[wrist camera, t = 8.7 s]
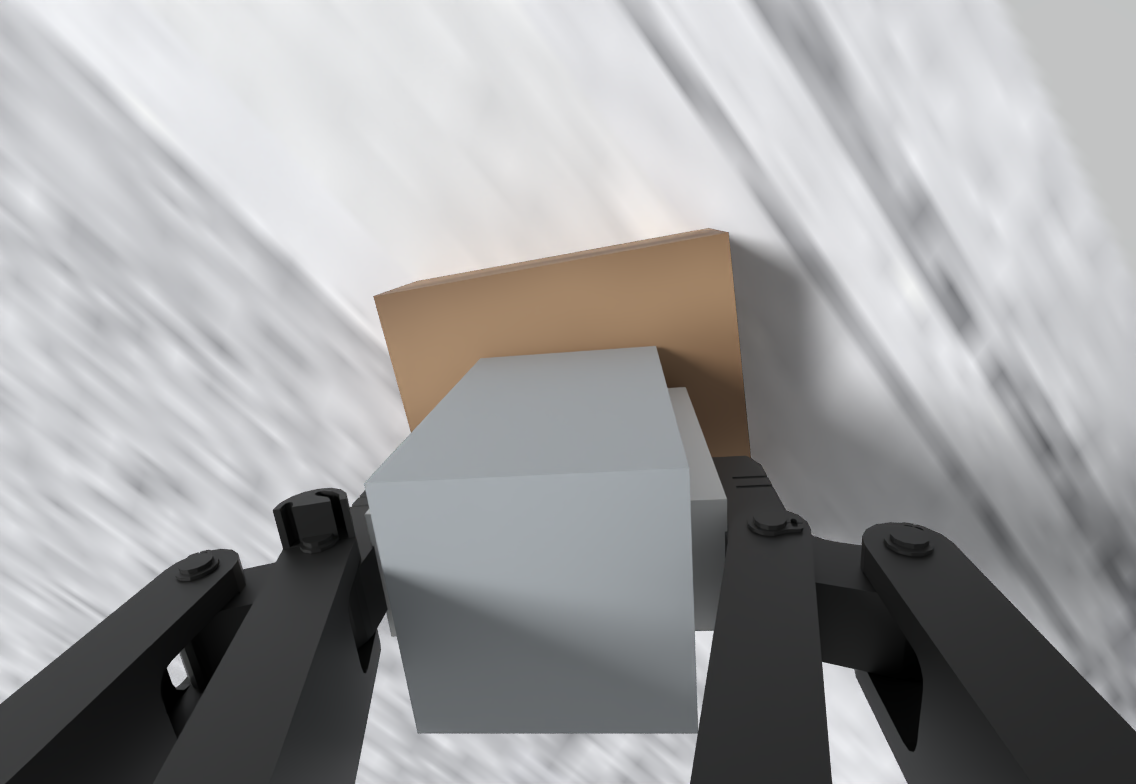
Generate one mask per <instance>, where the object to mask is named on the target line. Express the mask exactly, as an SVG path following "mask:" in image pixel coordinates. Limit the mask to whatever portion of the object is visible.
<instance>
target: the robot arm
mask: <svg viewBox="0 0 1136 784" xmlns="http://www.w3.org/2000/svg"><path fill="white" fill-rule="evenodd" d="M668 392H669V396H670V399H671V403H672V407H673V410H674V414H675V418H676V421H677V425H678V429H679V432H680V436H681V440H682V443H683V447H684V451H685V454H686V458H687V461H688V465H689V475H690V505H691V535H692V565H693V596H694V626H695V631H714V634H713V640H712V647H711V653H710V660H709V666H708V672H707V679H706V685H705V691H704V698H703V704H702V711H701V717H700V723H699V730H698V736H697V743H696V749H695V755H694V762H693V768H692V775H691V781H690V784H832V777H831V765H830V753H829V741H828V729H827V717H826V705H825V693H824V681H823V669H822V662H826V663H830V664H834V665H839V666H843V667H848V668H852V669H854V670H855V674H856V678H857V680H858V682H859V684H860V686H861V688H862V690H863V692H864V695H865V697H866V699H867V701H868V703H869V705H870V707H871V709H872V711H873V713H874V715H875V717H876V719H877V721H878V723H879V725H880V728H881V730H882V732H883V734H884V736H885V738H886V740H887V742H888V744H889V746H890V748H891V750H892V752H893V754H894V756H895V758H896V761H897V763H898V765H899V767H900V769H901V771H902V773H903V775H904V777H905V779H906V781H907V783H908V784H1136V731H1135V730H1134V729H1133V728H1132V727H1131V726H1130V725H1129V724H1128V723H1127V722H1126V721H1125V720H1124V719H1123V718H1122V717H1121V716H1120V715H1119V714H1118V713H1117V712H1116V711H1115V710H1114V709H1113V708H1112V707H1111V706H1110V705H1109V703H1108V702H1107V701H1106V700H1105V699H1104V698H1103V697H1102V696H1101V695H1100V694H1099V693H1098V692H1097V691H1096V690H1095V689H1094V688H1093V687H1092V686H1091V685H1090V684H1089V683H1088V682H1087V681H1086V680H1085V679H1084V678H1083V677H1082V676H1081V675H1080V674H1079V672H1078V671H1077V670H1076V669H1075V668H1074V667H1073V666H1072V665H1071V664H1070V663H1069V662H1068V661H1067V660H1066V659H1065V658H1064V657H1063V656H1062V655H1061V654H1060V653H1059V652H1058V651H1057V650H1056V649H1055V648H1054V647H1053V646H1052V645H1051V644H1050V643H1049V641H1048V640H1047V639H1046V638H1045V637H1044V636H1043V635H1042V634H1041V633H1040V632H1039V631H1038V630H1037V629H1036V628H1035V627H1034V626H1033V625H1032V624H1031V623H1030V622H1029V621H1028V620H1027V619H1026V618H1025V617H1024V616H1023V615H1022V614H1021V613H1020V611H1019V610H1018V609H1017V608H1016V607H1015V606H1014V605H1013V604H1012V603H1011V602H1010V601H1009V600H1008V599H1007V598H1006V597H1005V596H1004V595H1003V594H1002V593H1001V592H1000V591H999V590H998V589H997V588H996V587H995V586H994V585H993V584H992V583H991V582H990V580H989V579H988V578H987V577H986V576H985V575H984V574H983V573H982V572H981V571H980V570H979V569H978V568H977V567H976V566H975V565H974V564H973V563H972V562H971V561H970V560H969V559H968V558H967V557H966V556H965V555H964V554H963V553H962V552H961V551H960V549H959V548H958V547H957V546H956V545H955V544H954V543H953V542H951V541H950V540H949V539H947V538H946V537H944V536H943V535H942V534H940V533H937V532H935V531H932V530H930V529H928V528H926V527H923V526H920V525H913V524H911V523H892V522H890V523H883V524H876V525H874V526H872V527H870V528H868V529H866V531H865V532H864V534H863V536H862V546H861V545H854V544H847V543H839V542H834V541H829V540H824V539H821V538H818V537H815V536H812V535H811V529H810V527H809V525H808V523H807V521H805V520H804V519H803V518H801V517H800V516H799V515H797V514H794V513H792V512H789V511H786V509H785V508H784V506H783V504H782V502H781V500H780V499H779V497H778V495H777V493H776V491H775V489H774V488H773V487H772V484H771V482H770V480H769V479H768V478H767V475H766V473H765V471H764V470H763V468H762V466H761V464H759V463H757V462H756V461H754V460H753V459H751V458H749V457H748V456H728V457H711V454H710V452H709V449H708V446H707V444H706V441H705V438H704V435H703V433H702V430H701V427H700V425H699V422H698V419H697V417H696V414H695V411H694V408H693V406H692V403H691V400H690V398H689V395H688V392H687V390H686V387H677V388H668ZM273 513H274V517H275V521H276V524H277V528H278V532H279V535H280V539H281V543H282V546H283V550H282V552H281V554H280V556H279V558H278V559H277V561H276V562H275V563H271V564H266V565H262V566H257V567H252V568H247V569H242V565H241V562H240V559H239V555H238V553H236V552H235V551H233V550H228V549H217V550H206V551H201V552H200V553H199V552H198V553H195V554H192V555H190V556H188V557H187V558H186V559H184V560H181V561H179V562H177V563H175V564H174V565H172V566H171V567H169V568H168V569H166V570H165V571H164V572H162V573H161V574H160V575H159V576H157V577H156V578H155V579H154V580H153V581H151V582H150V583H149V584H148V585H146V586H145V587H144V588H143V589H141V590H140V591H139V592H138V593H137V594H135V595H134V596H133V597H132V598H130V599H129V600H128V601H127V602H125V603H124V604H123V605H122V606H121V607H119V608H118V609H117V610H116V611H114V612H113V613H112V614H111V615H109V616H108V617H107V618H106V619H105V620H103V621H102V622H101V623H100V624H98V625H97V626H96V627H95V628H93V629H92V630H91V631H90V632H89V633H87V634H86V635H85V636H84V637H82V638H81V639H80V640H79V641H77V642H76V643H75V644H74V645H73V646H71V647H70V648H69V649H68V650H66V651H65V652H64V653H63V654H61V655H60V656H59V657H58V658H57V659H55V660H54V661H53V662H52V663H50V664H49V665H48V666H47V667H45V668H44V669H43V670H42V671H41V672H39V673H38V674H37V675H36V676H34V677H33V678H32V679H31V680H29V681H28V682H27V683H26V684H25V685H23V686H22V687H21V688H20V689H18V690H17V691H16V692H15V693H13V694H12V695H11V696H10V697H9V698H7V699H6V700H5V701H4V702H2V703H1V704H0V784H355V780H356V775H357V770H358V765H359V759H360V754H361V749H362V744H363V739H364V734H365V729H366V724H367V719H368V713H369V708H370V703H371V698H372V693H373V688H374V683H375V678H376V673H377V667H378V662H379V657H380V652H381V645H380V639H379V635H378V630H377V627H378V626H379V624H380V622H381V620H382V619H383V617H384V615H385V613H387V618H388V623H389V627H390V632H391V636H397V635H396V630H395V625H394V621H393V616H392V611H391V607H390V602H389V597H388V593H387V588H386V583H385V579H384V574H383V569H382V565H381V560H380V555H379V551H378V546H377V541H376V537H375V532H374V528H373V523H372V518H371V514H370V509H369V504H368V500H367V495H366V490H365V491H364V492H363V493H362V494H361V495H360V498H358V499H357V500H356V501H355V502H354V503H353V504H352V507H349V503H348V498H347V494H346V493H345V492H344V491H342V490H341V489H335V488H324V489H316V490H311V491H307V492H303V493H300V494H298V495H295V496H292V497H290V498H288V499H287V500H285V501H283V502H281V503H280V504H279V505H277V506H276V507H275V508H274V509H273ZM179 653H180V656H181V659H182V662H183V665H184V668H185V670H186V673H187V676H188V677H187V678H186V679H185V680H184V681H183V682H182V683H181V684H180V685H179V686H178V687H176V688H175V687H174V685H173V684H172V682H171V679H170V676H169V673H168V671H167V667H168V665H169V664H170V662H171V661H172V660H173V659H174V658H175V657H176V656H177V655H178V654H179Z"/></svg>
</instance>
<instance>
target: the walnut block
mask: <svg viewBox="0 0 1136 784" xmlns="http://www.w3.org/2000/svg"><path fill="white" fill-rule="evenodd" d="M373 297H374V300H375V304H376V308H377V311H378V315H379V318H380V322H381V326H382V329H383V333H384V336H385V340H386V344H387V347H388V351H389V355H390V358H391V362H392V365H393V369H394V373H395V376H396V380H397V384H398V387H399V391H400V394H401V398H402V402H403V405H404V409H405V412H406V416H407V420H408V423H409V427H410V431H411V432H412V431H413V430H414V429H415V428H416V427H417V426H418V425H419V424H420V423H421V422H422V421H423V420H424V418H425V417H426V416H427V415H428V414H429V413H430V412H431V411H432V410H433V409H434V408H435V407H436V406H437V405H438V403H439V402H440V401H441V400H442V399H443V398H444V397H445V396H446V395H447V394H448V393H449V392H450V391H451V389H452V388H453V387H454V386H455V385H456V384H457V383H458V382H459V381H460V380H461V379H462V378H463V377H464V375H465V374H466V373H467V372H468V371H469V370H470V369H471V368H472V367H473V366H474V365H475V364H476V363H477V361H478V360H479V359H480V358H492V357H506V356H520V355H534V354H548V353H563V352H577V351H591V350H605V349H619V348H633V347H647V346H656V348H657V352H658V355H659V359H660V363H661V366H662V370H663V374H664V377H665V381H666V385H667V388H677V387H686V390H687V392H688V395H689V398H690V400H691V403H692V406H693V408H694V411H695V414H696V417H697V419H698V422H699V425H700V427H701V430H702V433H703V435H704V438H705V441H706V444H707V446H708V449H709V452H710V454H711V457H728V456H748V457H749V458H751V454H750V444H749V434H748V424H747V414H746V403H745V393H744V383H743V373H742V363H741V353H740V343H739V333H738V323H737V313H736V302H735V292H734V282H733V272H732V262H731V252H730V242H729V232H724V231H719V230H715V229H710V228H707V229H701V230H696V231H690V232H685V233H679V234H674V235H668V236H663V237H657V238H652V239H646V240H641V241H635V242H630V243H624V244H619V245H613V246H608V247H602V248H597V249H591V250H586V251H580V252H575V253H569V254H564V255H558V256H553V257H547V258H542V259H536V260H531V261H525V262H520V263H514V264H509V265H503V266H498V267H492V268H487V269H481V270H476V271H470V272H465V273H459V274H454V275H448V276H443V277H437V278H432V279H426V280H421V281H416V282H413V283H410V284H407V285H404V286H401V287H399V288H396V289H393V290H390V291H387V292H384V293H381V294H379V295H376V296H373Z"/></svg>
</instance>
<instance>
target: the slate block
mask: <svg viewBox="0 0 1136 784" xmlns="http://www.w3.org/2000/svg"><path fill="white" fill-rule="evenodd" d="M364 486H365V490H366V495H367V500H368V504H369V509H370V514H371V518H372V523H373V528H374V532H375V537H376V541H377V546H378V551H379V555H380V560H381V565H382V569H383V574H384V579H385V583H386V588H387V593H388V597H389V602H390V607H391V611H392V616H393V621H394V625H395V630H396V635H397V639H398V644H399V649H400V653H401V658H402V663H403V667H404V672H405V676H406V681H407V686H408V690H409V695H410V700H411V704H412V709H413V714H414V718H415V723H416V728H417V732H418V733H698V716H697V686H696V656H695V626H694V596H693V565H692V535H691V505H690V475H689V465H688V461H687V458H686V454H685V451H684V447H683V443H682V440H681V436H680V432H679V429H678V425H677V421H676V418H675V414H674V410H673V407H672V403H671V399H670V396H669V392H668V388H667V385H666V381H665V377H664V374H663V370H662V366H661V363H660V359H659V355H658V352H657V348H656V346H647V347H633V348H619V349H605V350H591V351H577V352H563V353H548V354H534V355H520V356H506V357H492V358H480V359H479V360H478V361H477V363H476V364H475V365H474V366H473V367H472V368H471V369H470V370H469V371H468V372H467V373H466V374H465V375H464V377H463V378H462V379H461V380H460V381H459V382H458V383H457V384H456V385H455V386H454V387H453V388H452V389H451V391H450V392H449V393H448V394H447V395H446V396H445V397H444V398H443V399H442V400H441V401H440V402H439V403H438V405H437V406H436V407H435V408H434V409H433V410H432V411H431V412H430V413H429V414H428V415H427V416H426V417H425V418H424V420H423V421H422V422H421V423H420V424H419V425H418V426H417V427H416V428H415V429H414V430H413V431H412V432H411V434H410V435H409V436H408V437H407V438H406V439H405V440H404V441H403V442H402V443H401V444H400V445H399V446H398V448H397V449H396V450H395V451H394V452H393V453H392V454H391V455H390V456H389V457H388V458H387V459H386V460H385V462H384V463H383V464H382V465H381V466H380V467H379V468H378V469H377V470H376V471H375V472H374V473H373V474H372V476H371V477H370V478H369V479H368V480H367V481H366V482H365V483H364Z"/></svg>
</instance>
